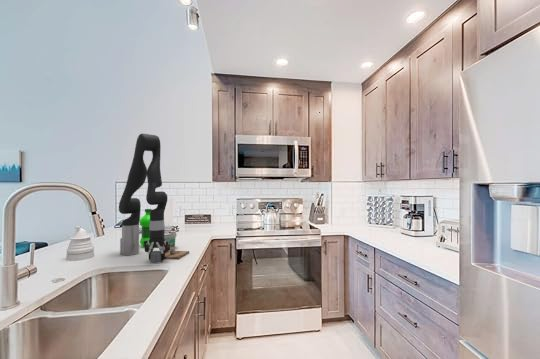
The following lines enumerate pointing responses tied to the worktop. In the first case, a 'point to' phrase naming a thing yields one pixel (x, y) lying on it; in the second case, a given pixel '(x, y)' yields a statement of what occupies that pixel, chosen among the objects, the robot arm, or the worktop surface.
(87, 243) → the honey pot
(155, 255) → the cap
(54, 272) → the worktop surface
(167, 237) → the food container
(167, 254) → the stub board
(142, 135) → the robot arm
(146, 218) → the plastic bottle
